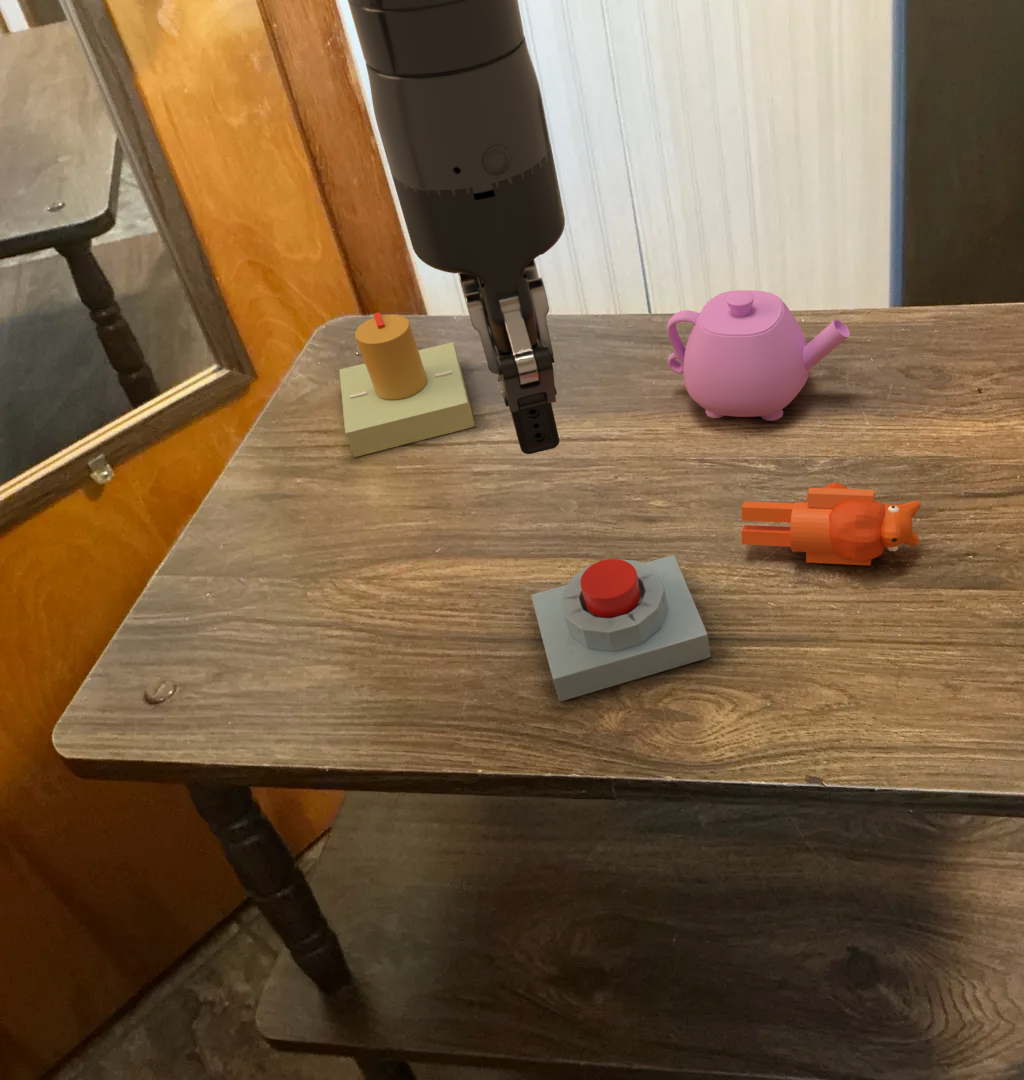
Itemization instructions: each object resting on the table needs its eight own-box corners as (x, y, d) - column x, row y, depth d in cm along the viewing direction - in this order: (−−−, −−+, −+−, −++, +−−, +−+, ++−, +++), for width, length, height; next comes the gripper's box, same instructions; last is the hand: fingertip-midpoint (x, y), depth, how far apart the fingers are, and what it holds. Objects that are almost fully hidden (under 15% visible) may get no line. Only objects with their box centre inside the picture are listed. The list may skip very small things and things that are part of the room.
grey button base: (559, 702, 72) (546, 660, 69) (537, 617, 77) (524, 574, 75) (711, 657, 73) (704, 614, 70) (678, 577, 79) (671, 534, 76)
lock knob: (432, 390, 95) (412, 330, 91) (380, 405, 94) (358, 345, 90) (421, 364, 98) (402, 305, 94) (371, 379, 97) (349, 320, 93)
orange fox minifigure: (734, 502, 75) (919, 509, 73) (753, 464, 82) (923, 469, 80) (736, 572, 77) (916, 581, 75) (755, 528, 84) (920, 535, 82)
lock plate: (354, 457, 93) (344, 431, 91) (348, 393, 100) (338, 367, 99) (475, 426, 95) (467, 400, 93) (460, 365, 102) (452, 340, 100)
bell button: (591, 624, 71) (586, 604, 70) (580, 587, 74) (574, 567, 73) (647, 608, 72) (643, 588, 71) (633, 572, 74) (629, 552, 73)
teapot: (686, 357, 99) (673, 261, 93) (859, 364, 96) (857, 264, 90) (657, 430, 92) (640, 330, 86) (842, 439, 89) (839, 336, 82)
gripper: (377, 113, 57) (459, 398, 69) (401, 224, 48) (491, 533, 59) (524, 85, 58) (580, 369, 70) (576, 187, 49) (631, 497, 60)
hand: (539, 444), depth 65 cm, fingers closed
